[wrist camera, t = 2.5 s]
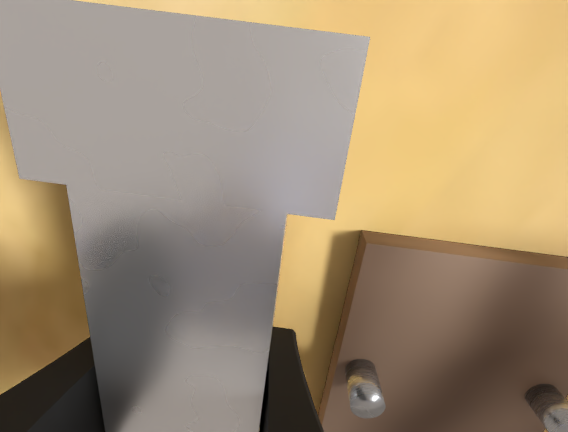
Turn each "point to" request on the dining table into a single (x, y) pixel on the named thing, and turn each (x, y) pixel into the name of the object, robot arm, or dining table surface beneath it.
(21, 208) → the dining table surface
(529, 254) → the board
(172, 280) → the gray notched block
